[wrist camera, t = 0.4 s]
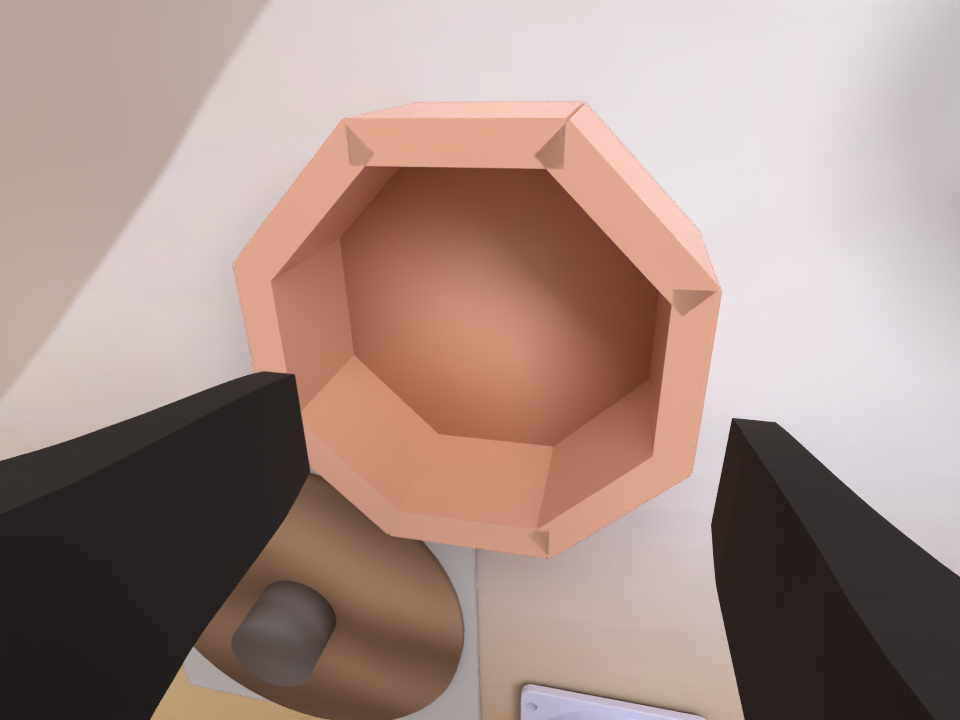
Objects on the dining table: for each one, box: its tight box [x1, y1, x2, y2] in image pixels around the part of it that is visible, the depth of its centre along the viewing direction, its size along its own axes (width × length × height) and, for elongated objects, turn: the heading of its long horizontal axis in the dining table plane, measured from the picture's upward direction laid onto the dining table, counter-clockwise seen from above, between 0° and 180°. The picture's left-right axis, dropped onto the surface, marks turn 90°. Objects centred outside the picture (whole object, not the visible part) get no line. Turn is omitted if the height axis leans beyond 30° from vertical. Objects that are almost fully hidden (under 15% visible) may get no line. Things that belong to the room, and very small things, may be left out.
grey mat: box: [183, 467, 481, 720], centre depth 28 cm, size 16×16×1 cm
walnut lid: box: [193, 473, 465, 720], centre depth 27 cm, size 15×15×3 cm
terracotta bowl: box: [233, 101, 722, 559], centre depth 18 cm, size 12×12×5 cm
